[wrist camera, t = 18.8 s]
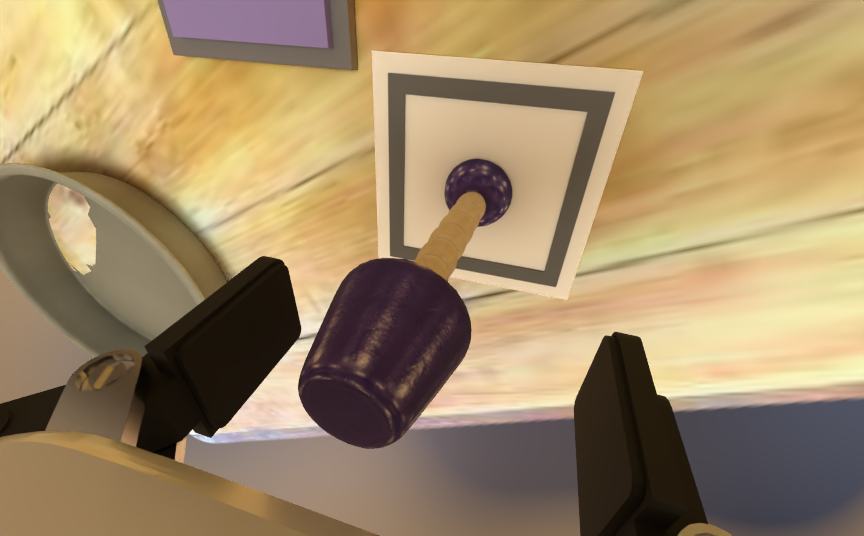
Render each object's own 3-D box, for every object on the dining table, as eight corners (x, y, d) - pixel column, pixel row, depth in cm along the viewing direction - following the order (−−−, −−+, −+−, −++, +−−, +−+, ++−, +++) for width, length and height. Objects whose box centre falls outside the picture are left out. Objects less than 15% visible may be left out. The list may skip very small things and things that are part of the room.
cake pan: (193, 152, 27) (138, 170, 23) (280, 376, 40) (253, 410, 36) (-21, 146, 33) (-93, 160, 29) (115, 343, 46) (77, 369, 42)
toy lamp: (427, 177, 23) (234, 381, 9) (485, 130, 20) (334, 321, 7) (472, 234, 24) (357, 486, 11) (532, 197, 21) (482, 469, 8)
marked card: (642, 70, 17) (644, 71, 17) (567, 298, 25) (567, 301, 25) (373, 50, 20) (370, 50, 19) (379, 262, 27) (377, 264, 27)
